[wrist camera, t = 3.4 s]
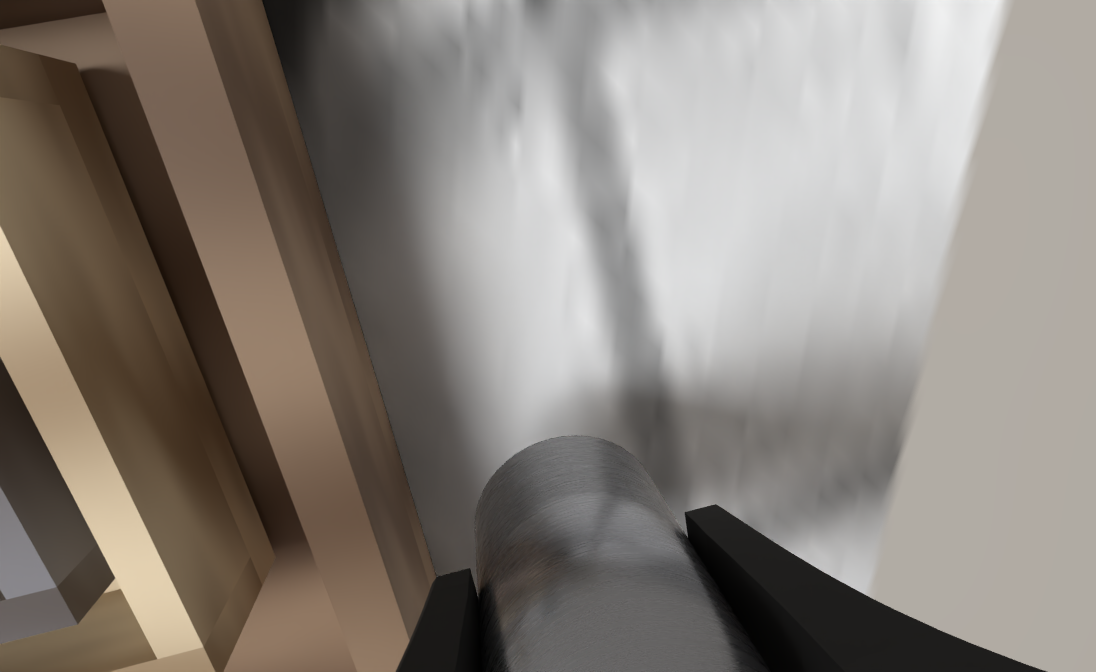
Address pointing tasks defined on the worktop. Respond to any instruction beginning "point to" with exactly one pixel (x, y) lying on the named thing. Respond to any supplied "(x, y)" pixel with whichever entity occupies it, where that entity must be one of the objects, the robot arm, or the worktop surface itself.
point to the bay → (256, 312)
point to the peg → (595, 571)
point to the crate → (103, 418)
